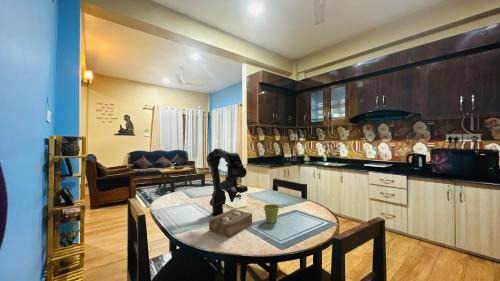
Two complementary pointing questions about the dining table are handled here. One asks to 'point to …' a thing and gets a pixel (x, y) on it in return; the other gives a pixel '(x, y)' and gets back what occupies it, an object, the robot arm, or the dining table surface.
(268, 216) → the plant pot
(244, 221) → the jig block
